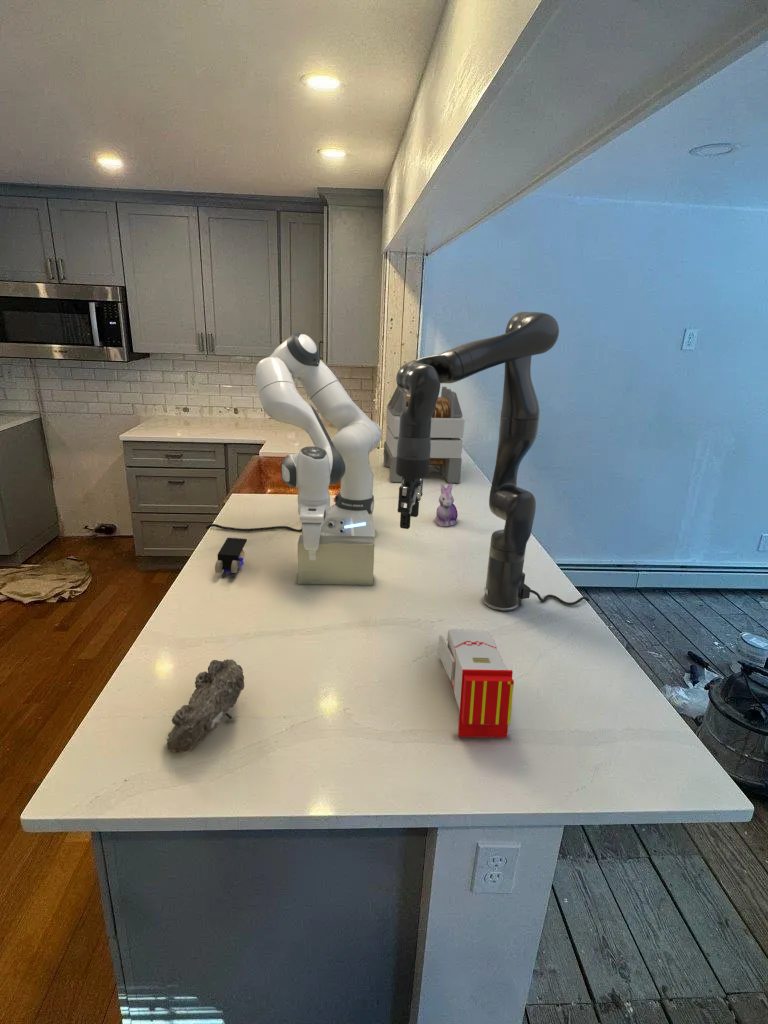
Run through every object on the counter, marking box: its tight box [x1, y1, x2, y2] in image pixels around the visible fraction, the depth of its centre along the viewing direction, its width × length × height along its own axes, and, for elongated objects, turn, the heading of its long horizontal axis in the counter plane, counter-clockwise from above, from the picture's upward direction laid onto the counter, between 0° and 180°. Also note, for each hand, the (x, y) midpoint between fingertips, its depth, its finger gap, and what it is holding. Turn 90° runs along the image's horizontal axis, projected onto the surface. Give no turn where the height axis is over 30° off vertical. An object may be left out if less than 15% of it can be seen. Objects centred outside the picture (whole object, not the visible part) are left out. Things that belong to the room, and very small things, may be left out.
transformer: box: [383, 385, 465, 484], centre depth 268 cm, size 34×33×41 cm
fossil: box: [166, 658, 245, 754], centre depth 106 cm, size 22×10×15 cm
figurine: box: [434, 483, 459, 527], centre depth 210 cm, size 9×10×15 cm
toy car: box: [214, 537, 248, 578], centre depth 166 cm, size 7×8×15 cm
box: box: [297, 534, 375, 586], centre depth 162 cm, size 21×6×13 cm, turn 93°
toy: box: [437, 628, 515, 738], centre depth 117 cm, size 12×13×30 cm
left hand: (313, 552), depth 161 cm, fingers open, 8 cm apart
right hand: (409, 521), depth 133 cm, fingers open, 8 cm apart
